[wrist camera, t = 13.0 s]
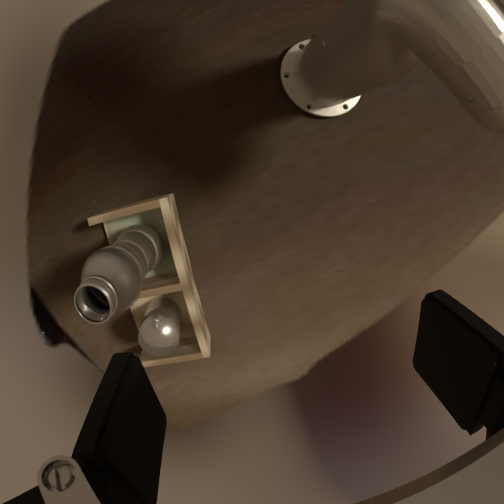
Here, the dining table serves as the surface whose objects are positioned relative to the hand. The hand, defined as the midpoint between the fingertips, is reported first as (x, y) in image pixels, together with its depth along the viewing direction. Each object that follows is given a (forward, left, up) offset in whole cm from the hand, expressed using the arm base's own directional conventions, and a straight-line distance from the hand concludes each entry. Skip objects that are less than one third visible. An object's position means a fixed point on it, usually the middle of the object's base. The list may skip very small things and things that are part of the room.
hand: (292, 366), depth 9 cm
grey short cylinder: (+19, -4, -34) cm, 39 cm away
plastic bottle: (+9, -10, -34) cm, 37 cm away
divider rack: (+14, -6, -35) cm, 38 cm away
